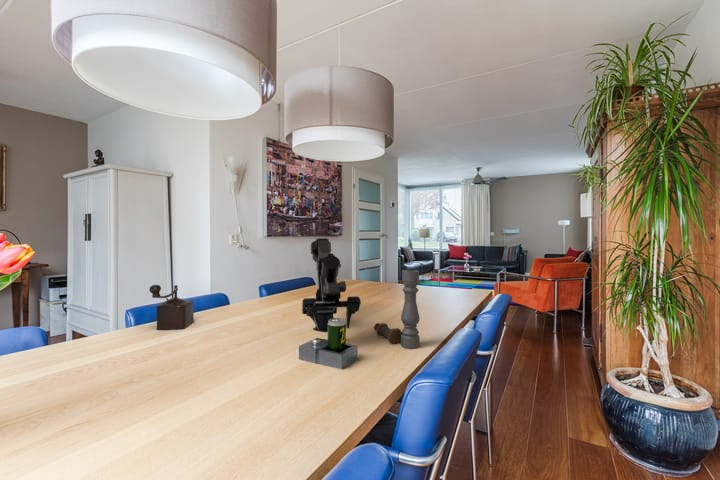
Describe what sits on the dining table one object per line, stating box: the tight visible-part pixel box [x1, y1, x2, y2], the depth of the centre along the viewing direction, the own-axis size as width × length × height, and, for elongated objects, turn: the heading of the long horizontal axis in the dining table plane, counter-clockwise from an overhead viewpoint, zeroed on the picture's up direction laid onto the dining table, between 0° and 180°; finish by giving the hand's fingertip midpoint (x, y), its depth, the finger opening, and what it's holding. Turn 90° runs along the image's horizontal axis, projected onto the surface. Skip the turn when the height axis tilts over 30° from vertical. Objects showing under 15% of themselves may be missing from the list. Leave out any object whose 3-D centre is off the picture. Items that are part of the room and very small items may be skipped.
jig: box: [298, 337, 359, 370], centre depth 102 cm, size 15×9×5 cm, turn 61°
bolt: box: [373, 323, 402, 345], centre depth 122 cm, size 6×5×15 cm
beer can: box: [327, 317, 347, 353], centre depth 100 cm, size 5×5×12 cm
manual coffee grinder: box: [149, 284, 195, 331], centre depth 134 cm, size 16×11×18 cm
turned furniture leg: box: [400, 269, 420, 350], centre depth 113 cm, size 6×6×25 cm
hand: (333, 328), depth 107 cm, fingers open, 9 cm apart
